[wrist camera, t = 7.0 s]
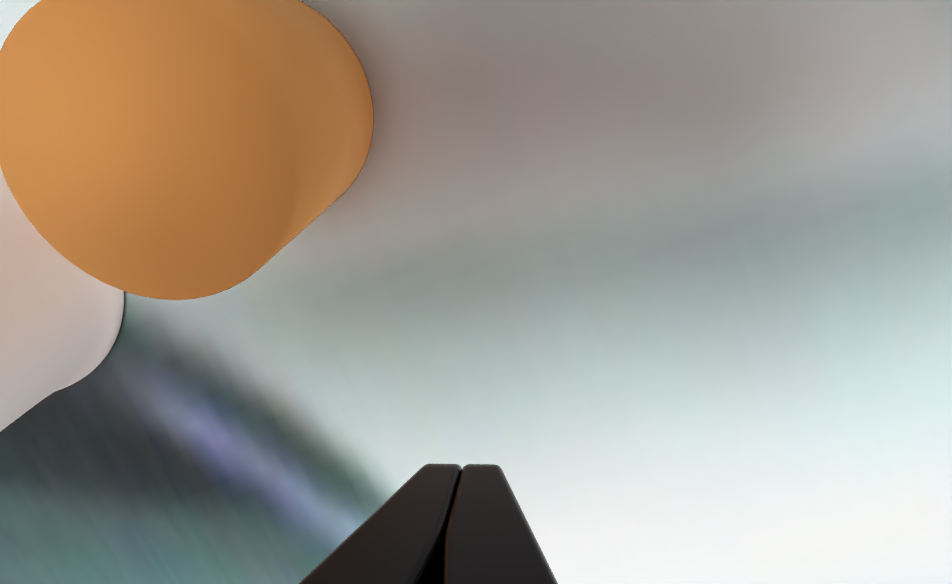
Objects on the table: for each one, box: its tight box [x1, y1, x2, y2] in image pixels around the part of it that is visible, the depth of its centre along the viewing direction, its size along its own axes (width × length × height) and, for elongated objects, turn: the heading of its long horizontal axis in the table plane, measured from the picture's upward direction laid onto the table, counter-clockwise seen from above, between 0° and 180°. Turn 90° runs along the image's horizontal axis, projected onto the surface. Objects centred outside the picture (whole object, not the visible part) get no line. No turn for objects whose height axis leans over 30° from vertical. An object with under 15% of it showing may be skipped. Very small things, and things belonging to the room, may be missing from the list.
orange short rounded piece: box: [0, 0, 373, 300], centre depth 16 cm, size 6×6×6 cm
